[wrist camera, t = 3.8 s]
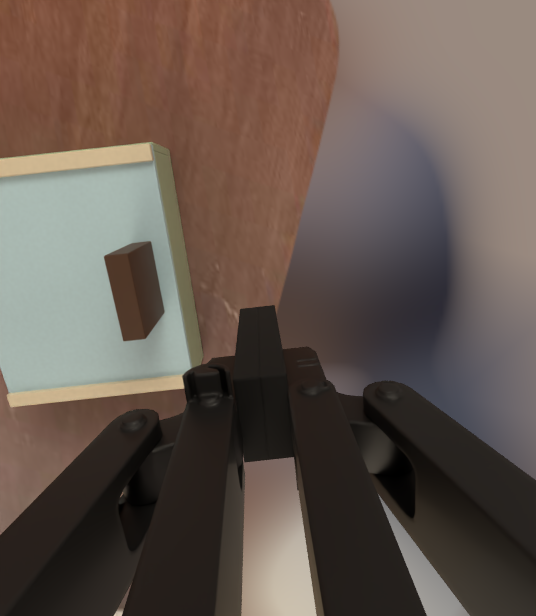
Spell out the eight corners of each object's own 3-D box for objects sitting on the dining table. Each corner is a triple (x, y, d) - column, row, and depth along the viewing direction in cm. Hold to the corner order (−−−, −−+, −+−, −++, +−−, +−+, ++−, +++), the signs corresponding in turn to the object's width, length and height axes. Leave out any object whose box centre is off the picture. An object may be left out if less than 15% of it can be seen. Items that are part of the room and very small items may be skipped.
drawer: (152, 144, 29) (124, 132, 23) (194, 382, 35) (182, 424, 29) (-63, 167, 29) (-150, 162, 23) (16, 401, 35) (-36, 448, 29)
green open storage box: (169, 149, 35) (152, 141, 29) (203, 356, 41) (195, 383, 35) (-11, 168, 35) (-63, 164, 29) (51, 372, 41) (18, 402, 35)
